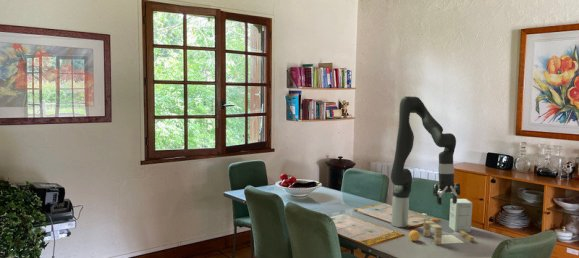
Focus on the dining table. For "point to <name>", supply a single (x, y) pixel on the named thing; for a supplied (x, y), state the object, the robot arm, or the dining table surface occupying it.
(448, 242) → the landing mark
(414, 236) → the ball
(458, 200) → the supplement box
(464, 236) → the stopper wall
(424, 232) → the bridge
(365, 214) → the dining table surface
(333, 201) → the dining table surface
